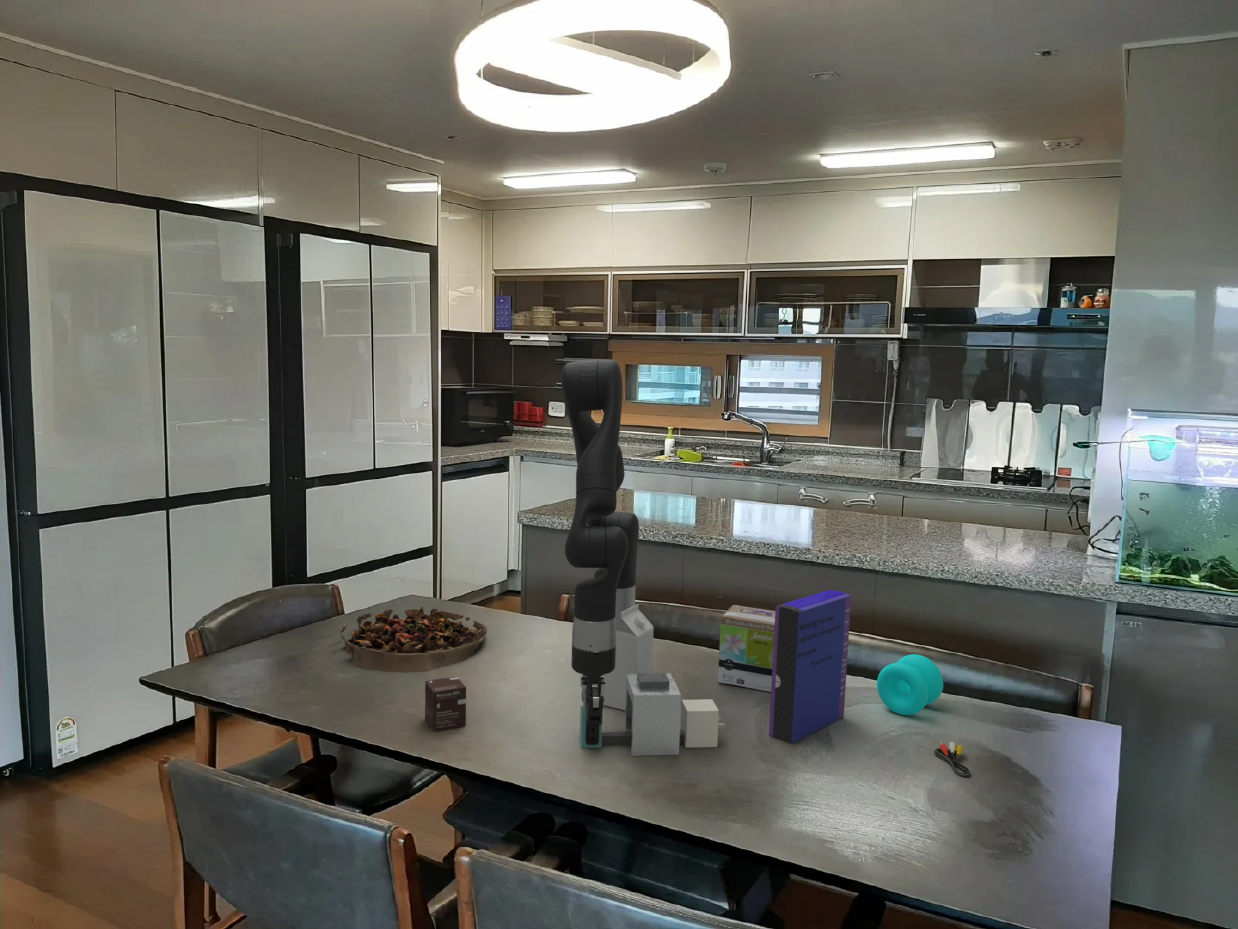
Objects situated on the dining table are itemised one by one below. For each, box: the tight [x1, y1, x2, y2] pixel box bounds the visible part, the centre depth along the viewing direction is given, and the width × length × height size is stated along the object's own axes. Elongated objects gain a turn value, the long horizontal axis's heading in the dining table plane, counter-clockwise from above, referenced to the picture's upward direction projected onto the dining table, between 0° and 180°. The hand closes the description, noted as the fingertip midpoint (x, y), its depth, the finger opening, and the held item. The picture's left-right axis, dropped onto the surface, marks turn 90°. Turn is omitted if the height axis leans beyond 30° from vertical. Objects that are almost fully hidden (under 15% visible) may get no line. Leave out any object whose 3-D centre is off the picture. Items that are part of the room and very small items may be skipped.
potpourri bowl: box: [339, 606, 488, 674], centre depth 190 cm, size 35×33×8 cm
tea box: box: [717, 604, 775, 693], centre depth 173 cm, size 15×10×15 cm, turn 68°
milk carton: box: [602, 603, 654, 711], centre depth 160 cm, size 7×7×19 cm
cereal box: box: [768, 589, 852, 746], centre depth 151 cm, size 17×5×24 cm, turn 134°
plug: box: [579, 698, 726, 749], centre depth 144 cm, size 5×25×6 cm, turn 97°
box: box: [424, 676, 467, 732], centre depth 149 cm, size 6×6×7 cm
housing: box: [623, 672, 682, 757], centre depth 143 cm, size 10×8×12 cm
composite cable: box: [933, 740, 971, 779], centre depth 140 cm, size 10×5×2 cm, turn 168°
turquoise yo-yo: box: [876, 653, 944, 716], centre depth 162 cm, size 10×10×10 cm
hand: (591, 738), depth 143 cm, fingers closed on plug, 3 cm apart
